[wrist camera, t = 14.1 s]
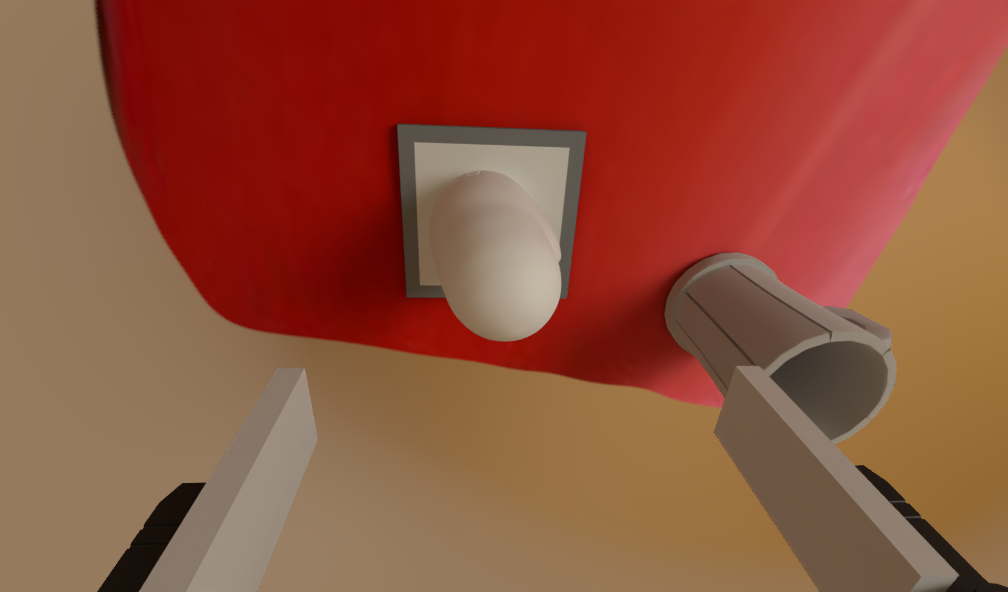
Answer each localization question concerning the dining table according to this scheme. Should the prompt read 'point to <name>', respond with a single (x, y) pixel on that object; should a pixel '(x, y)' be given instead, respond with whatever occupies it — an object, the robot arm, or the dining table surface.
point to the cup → (783, 341)
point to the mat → (510, 151)
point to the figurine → (495, 256)
